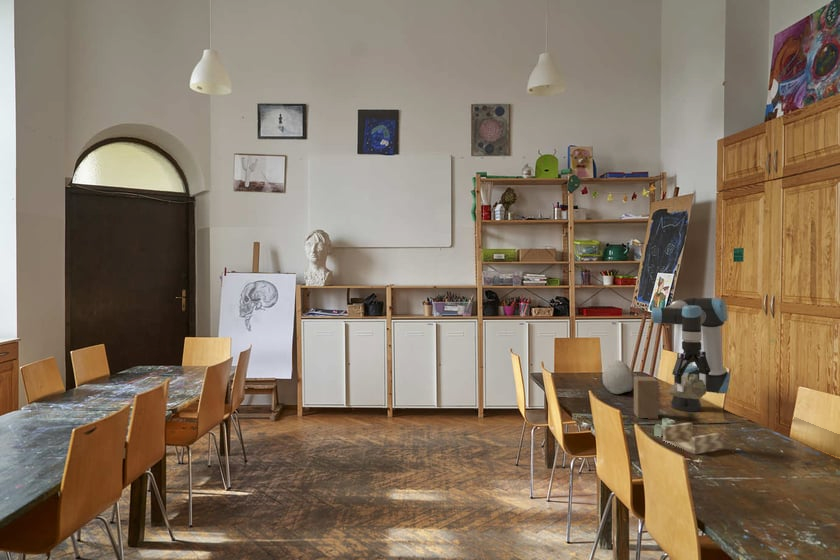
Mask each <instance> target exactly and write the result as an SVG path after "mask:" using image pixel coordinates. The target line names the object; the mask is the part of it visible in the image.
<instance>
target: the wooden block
mask: <svg viewBox="0 0 840 560" xmlns="http://www.w3.org/2000/svg"><path fill="white" fill-rule="evenodd" d="M633 414H634V415H635V416H636V418H637V419H643V418H648V419H647V420H658V419H659V380H657V378H656V377H654V376H639V375H638V376H637V375H636V376H633Z"/></svg>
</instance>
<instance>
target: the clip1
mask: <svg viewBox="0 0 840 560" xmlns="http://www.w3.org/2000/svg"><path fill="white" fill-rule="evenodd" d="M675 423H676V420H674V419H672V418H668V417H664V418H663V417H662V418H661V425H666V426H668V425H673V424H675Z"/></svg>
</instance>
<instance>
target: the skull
mask: <svg viewBox="0 0 840 560" xmlns="http://www.w3.org/2000/svg"><path fill="white" fill-rule="evenodd" d="M601 377H602V384H603V385H604V387H605V388H606V389H607V390H608V391H609V392H610V393H612V394H615V395H621V394H623V393H627V392H631V391H632V387H633V376H632V370H631V368H630V367H629V366H628V364H627V363H626V362H624V361H622V360H615V361H611V362H610V363H609V364H608V365H607V366H606V367H605V368H604V370H603V372H602V375H601Z"/></svg>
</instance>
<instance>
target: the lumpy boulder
mask: <svg viewBox="0 0 840 560" xmlns="http://www.w3.org/2000/svg"><path fill="white" fill-rule="evenodd" d="M682 377H684V392H680V391H677V383H675V384H673V385H671V386H670V387H669V388H668V393H669V394H670V395H671V396H677V397H681V398H691V399H699V400H700V399H702V397H704V396H705V395H706V394H707V393H708V392H707V390H706V389H705V387H706V385H705V384H704V382H703V380H701V379H700V380H699V379H698V375H695V374H692V375H689V373H685V374H684V375H682Z"/></svg>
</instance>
